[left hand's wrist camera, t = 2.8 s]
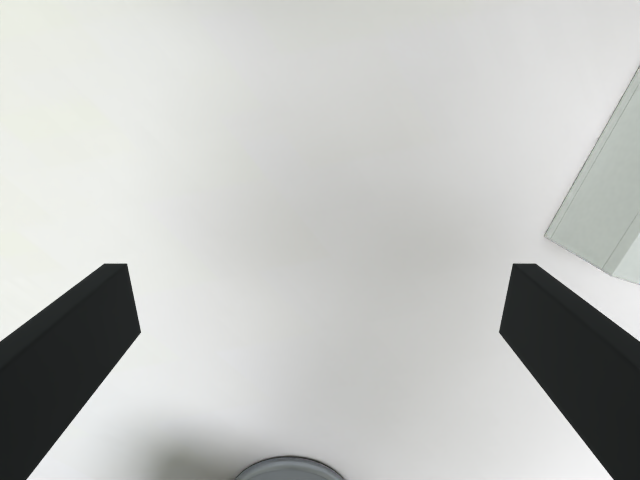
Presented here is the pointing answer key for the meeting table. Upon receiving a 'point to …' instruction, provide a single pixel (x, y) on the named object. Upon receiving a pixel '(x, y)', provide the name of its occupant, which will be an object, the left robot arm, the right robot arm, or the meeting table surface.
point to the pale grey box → (607, 197)
